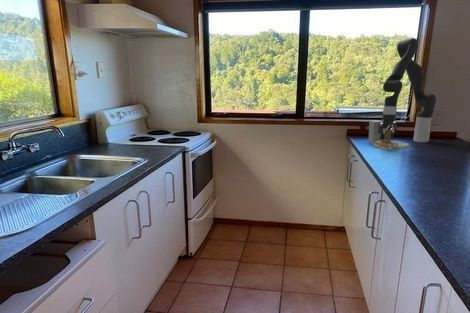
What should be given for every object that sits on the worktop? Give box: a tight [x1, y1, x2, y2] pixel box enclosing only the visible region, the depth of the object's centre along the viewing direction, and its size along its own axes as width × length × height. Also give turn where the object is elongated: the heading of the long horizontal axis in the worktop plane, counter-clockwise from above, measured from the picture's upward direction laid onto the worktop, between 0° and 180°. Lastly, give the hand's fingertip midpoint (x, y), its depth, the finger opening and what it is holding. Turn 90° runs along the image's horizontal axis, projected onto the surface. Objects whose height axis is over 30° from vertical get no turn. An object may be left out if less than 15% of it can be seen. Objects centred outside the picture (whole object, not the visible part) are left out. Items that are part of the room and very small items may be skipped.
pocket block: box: [373, 140, 399, 151], centre depth 207 cm, size 10×10×4 cm
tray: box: [393, 140, 410, 149], centre depth 212 cm, size 10×10×2 cm
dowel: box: [382, 129, 392, 144], centre depth 206 cm, size 4×4×12 cm
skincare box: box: [368, 119, 383, 145], centre depth 219 cm, size 8×7×16 cm
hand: (386, 139), depth 206 cm, fingers open, 8 cm apart
